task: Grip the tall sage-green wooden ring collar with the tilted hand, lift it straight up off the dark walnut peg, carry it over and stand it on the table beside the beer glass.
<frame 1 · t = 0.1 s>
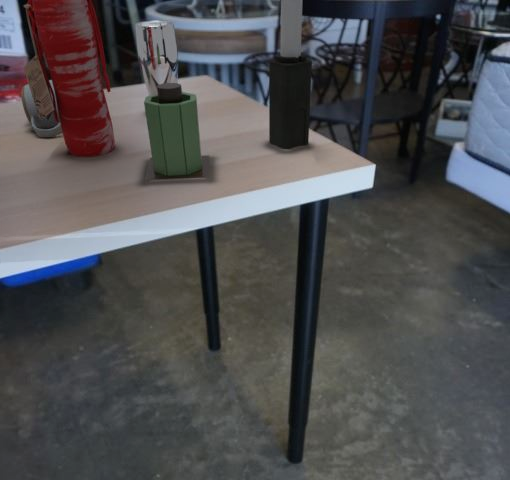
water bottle: (84, 160, 84), on the table
candle: (288, 153, 85), on the table
ceramic mug: (56, 130, 97), on the table
walnut peg: (179, 177, 78), on the table
green ring: (178, 167, 77), point 1 cm above the table, touching walnut peg
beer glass: (166, 119, 101), on the table
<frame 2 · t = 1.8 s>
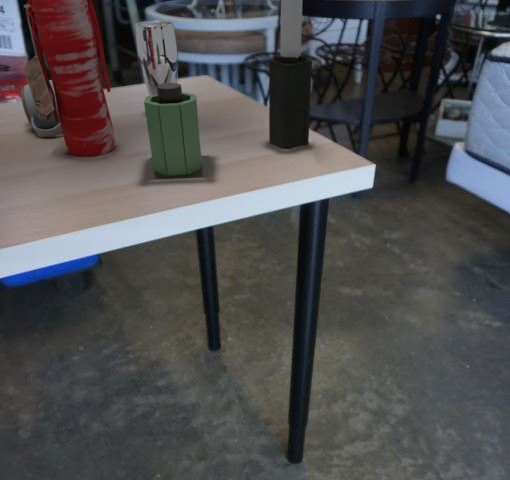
nothing on the table moved.
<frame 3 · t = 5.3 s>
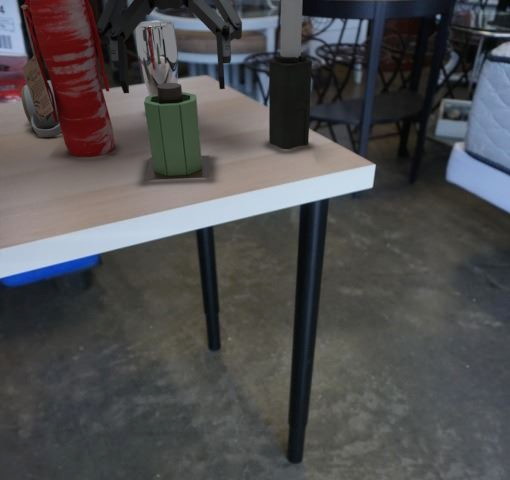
hand: (173, 85, 74), 11 cm above the table, tool tilted 45°, fingers open, 13 cm apart
nothing on the table moved.
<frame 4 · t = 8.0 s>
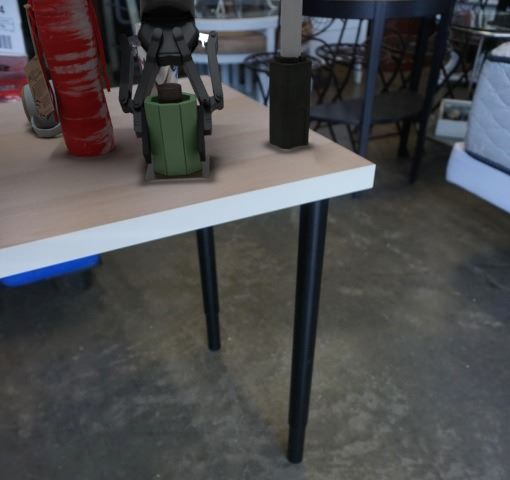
hand: (174, 157, 72), 4 cm above the table, tool tilted 45°, fingers closed on green ring, 7 cm apart
green ring: (178, 167, 77), point 2 cm above the table, touching gripper, walnut peg
everything else where it was.
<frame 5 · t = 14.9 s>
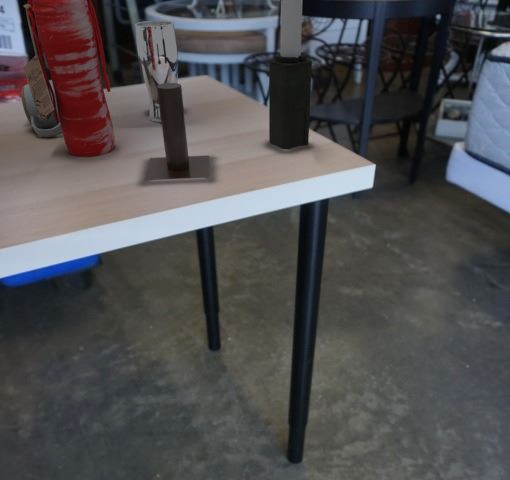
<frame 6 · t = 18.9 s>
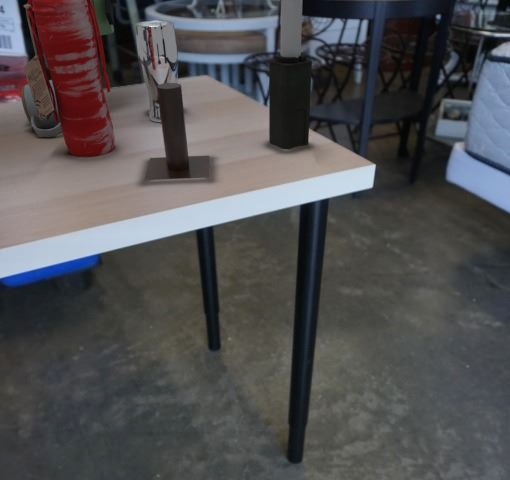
hand: (88, 19, 94), 15 cm above the table, tool tilted 45°, fingers closed on green ring, 7 cm apart
green ring: (94, 32, 98), point 13 cm above the table, touching gripper
everything else where it was.
when the fingers open (2 cm above the table, at t = 22.1 s): green ring stays where it is, on the table.
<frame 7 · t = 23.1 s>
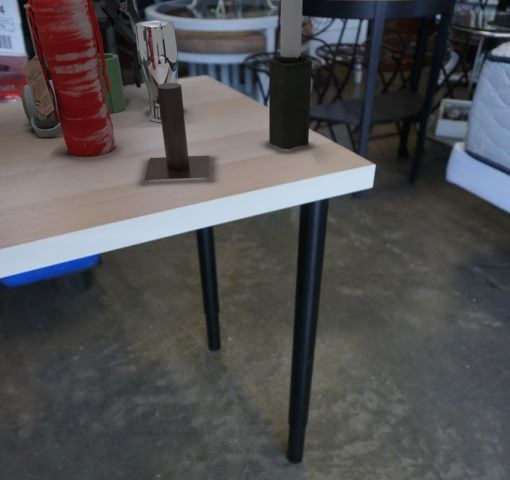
hand: (101, 84, 102), 5 cm above the table, tool tilted 45°, fingers open, 13 cm apart
green ring: (108, 108, 106), on the table
everything else where it was.
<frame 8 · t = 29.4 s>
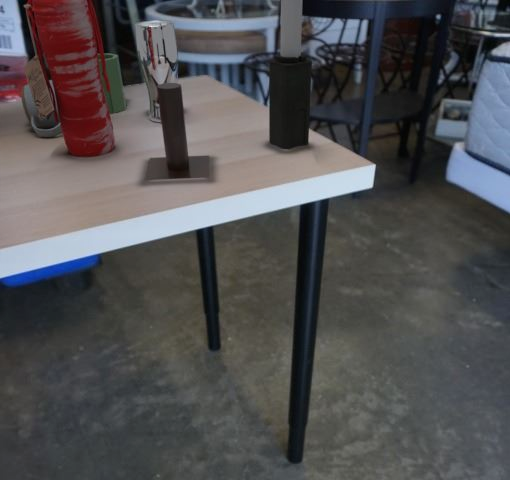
nothing on the table moved.
at the end: green ring on the table; green ring 14.4 cm from the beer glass (horizontally); green ring tilted 0° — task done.
